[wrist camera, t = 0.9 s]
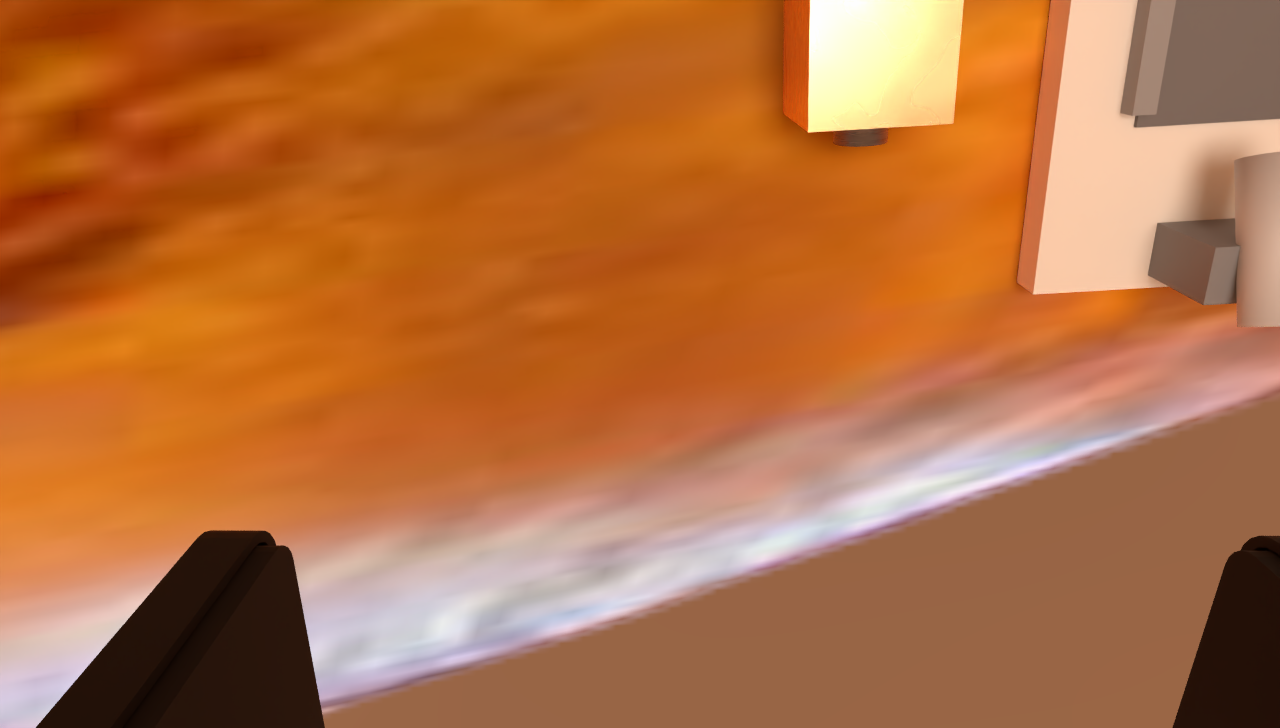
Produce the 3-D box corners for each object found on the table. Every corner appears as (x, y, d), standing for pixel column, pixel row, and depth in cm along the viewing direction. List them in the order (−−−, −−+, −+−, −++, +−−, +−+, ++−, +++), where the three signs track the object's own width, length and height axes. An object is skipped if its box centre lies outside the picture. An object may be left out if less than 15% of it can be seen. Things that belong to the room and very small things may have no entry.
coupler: (783, -64, 29) (811, -77, 24) (917, -73, 28) (970, -88, 24) (782, 135, 31) (807, 158, 27) (904, 127, 31) (951, 150, 26)
